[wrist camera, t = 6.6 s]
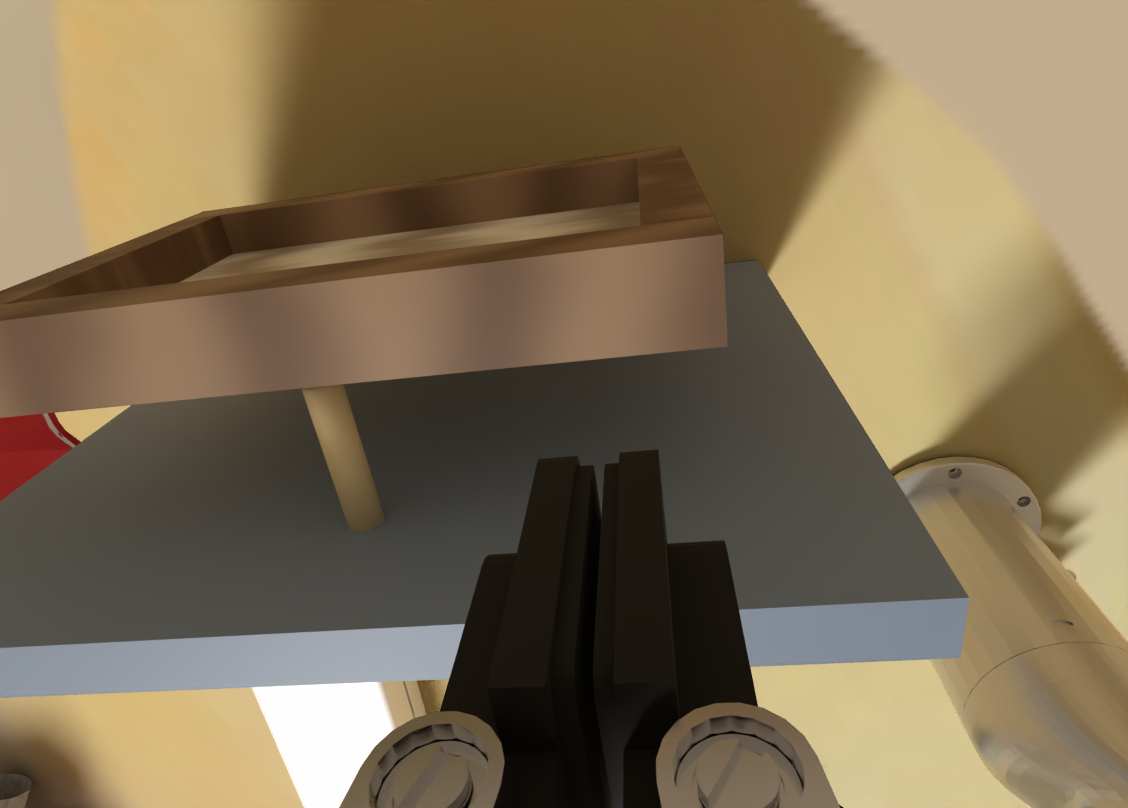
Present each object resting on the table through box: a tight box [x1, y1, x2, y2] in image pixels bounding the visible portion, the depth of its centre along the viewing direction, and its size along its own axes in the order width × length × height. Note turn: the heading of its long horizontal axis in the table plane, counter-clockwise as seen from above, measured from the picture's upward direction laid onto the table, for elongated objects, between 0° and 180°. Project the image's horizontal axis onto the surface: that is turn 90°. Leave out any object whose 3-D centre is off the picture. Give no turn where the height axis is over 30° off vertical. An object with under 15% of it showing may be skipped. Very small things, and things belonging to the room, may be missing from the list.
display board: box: [0, 260, 969, 698], centre depth 32 cm, size 34×7×30 cm, turn 98°
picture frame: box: [0, 146, 728, 418], centre depth 27 cm, size 24×3×17 cm, turn 98°
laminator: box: [251, 681, 427, 808], centre depth 64 cm, size 34×12×6 cm, turn 6°
